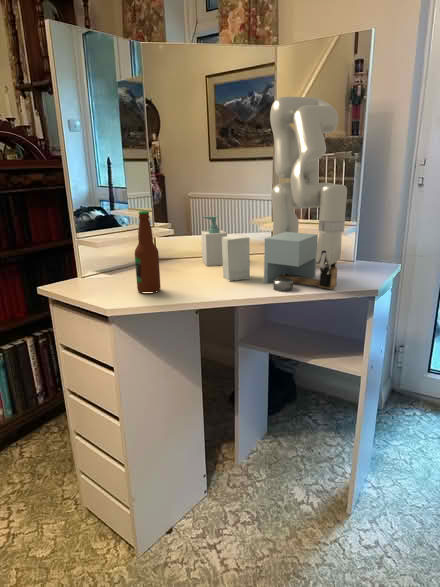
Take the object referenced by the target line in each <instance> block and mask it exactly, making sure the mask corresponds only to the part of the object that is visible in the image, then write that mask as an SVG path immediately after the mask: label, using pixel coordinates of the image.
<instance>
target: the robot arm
mask: <svg viewBox="0 0 440 587" xmlns="http://www.w3.org/2000/svg"><path fill="white" fill-rule="evenodd" d="M269 113H270V114H269V116H270V117H269V120H270V125H271V131H272V134H273V139H274V171H275V174H276V176H277V177H278V178H280V179H286V180H287V179H289V180H290V181H289V182H288V181H287V182H280V183H278V184H276V185H274V186H273V187H272V189H271V195H270V196H271V204H272V213H273V216H272V220H273V221H272V232H273V233H272V236H274V235H277V234H280V233H284V232H293V233H299V228H300V227H299V218H298V216H297V214H296V212H295V211H294V209H295V210H297V209H311V208H312V209H313V208H314V209H315V208H316V209H317V208H319V218H318V232H319V234H318V240H317V251H316V265H318V268H319V280H320V286H325V287H330V280H331V274H330V268H331V267H336V268H338V267H337V264H338V261H340V259H341V255H342V235H343V233H344V232H345V221H346V211H347V210H346V209H347V198H348V187H347V186H346V185H344V184H335V183H333V182H319V178H320V177H319V174H320V172H319V168H320V166H319V161H318V160H320V159H321V158H322V157H323V156H325V154H326V151H327V145H326V139H325V135H324V134H332V133H333V132H335V130H336V129H337V127H338V124H339V116H338V112H337V110H336V109H335V107H334V106H333V105H331V104H330V103H329V102H327V101H325V100H324V99H322V98H319V97H313V96H312V97H311V96H309V97H308V96H282V97H279V98H276V99H275V100H274V101H273V102H272V105H271V108H270V112H269ZM291 124H293V126H294V128H293V126H292V125H291ZM263 254H264V255H263V257H264V256H265V253H263ZM325 266H327V267H328V269H327V267H325ZM320 286H319V287H320Z"/></svg>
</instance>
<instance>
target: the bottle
mask: <svg viewBox="0 0 440 587" xmlns="http://www.w3.org/2000/svg"><path fill="white" fill-rule="evenodd" d="M137 214H138V219H139V223H138V233H137V239H138V244H137V246H136V247H135V250H134V263H135V276H136V288H137V291H138V292H139V291H140V292H156V291H158V292H159V291H160V290H161V289H162V288H161V274H160V259H159V258H160V255H159V254H160V253H159V249H158V247H157V246H156V245H155V243H154V240H153V239H154V238H153V230H152V227H151V223H150V222H151V221H150V219H151V218H150V211H148V210H141V211H138V213H137ZM140 292H139V293H140ZM156 293H157V292H156Z"/></svg>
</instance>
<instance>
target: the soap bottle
mask: <svg viewBox="0 0 440 587" xmlns="http://www.w3.org/2000/svg"><path fill="white" fill-rule="evenodd" d="M217 218H219V215H216V216H202V219H205V220H206V219H207V220H211V224H210V226H209V227H210V228H208V230H201V256H202V258H201V259H202V260H201V262H202V261H203V262H204V263H203V262H202V263H203V264H204V265H205V266H206V267H213V266H212V265H217V266H223V255H222V237H228V233H227V232H226V231H224V230H222V229H220V228H219V227H218V224H216V222H217Z"/></svg>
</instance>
